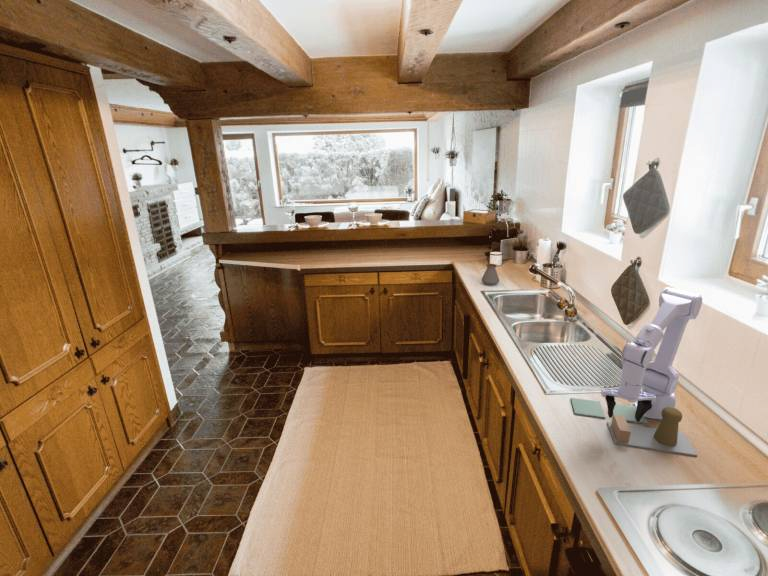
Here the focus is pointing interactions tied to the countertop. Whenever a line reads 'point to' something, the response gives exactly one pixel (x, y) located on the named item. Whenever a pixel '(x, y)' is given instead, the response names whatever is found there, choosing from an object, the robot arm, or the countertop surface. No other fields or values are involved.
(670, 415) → the olive rounded upright post
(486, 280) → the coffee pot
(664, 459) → the countertop surface
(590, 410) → the pair of green tiles
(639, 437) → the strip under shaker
